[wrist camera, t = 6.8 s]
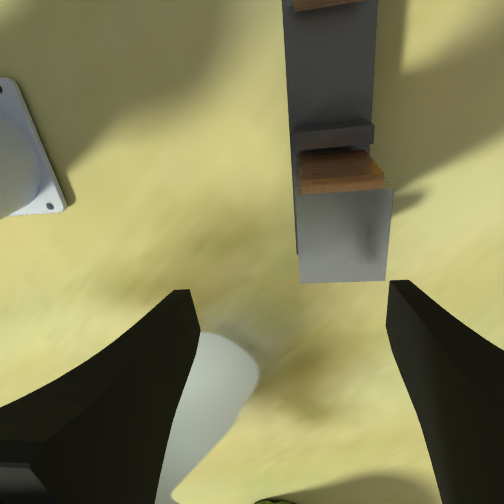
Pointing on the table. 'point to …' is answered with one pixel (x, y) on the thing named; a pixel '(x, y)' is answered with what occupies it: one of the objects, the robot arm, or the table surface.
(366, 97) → the rail
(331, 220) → the grey and orange block
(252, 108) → the table surface
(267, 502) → the plant pot
